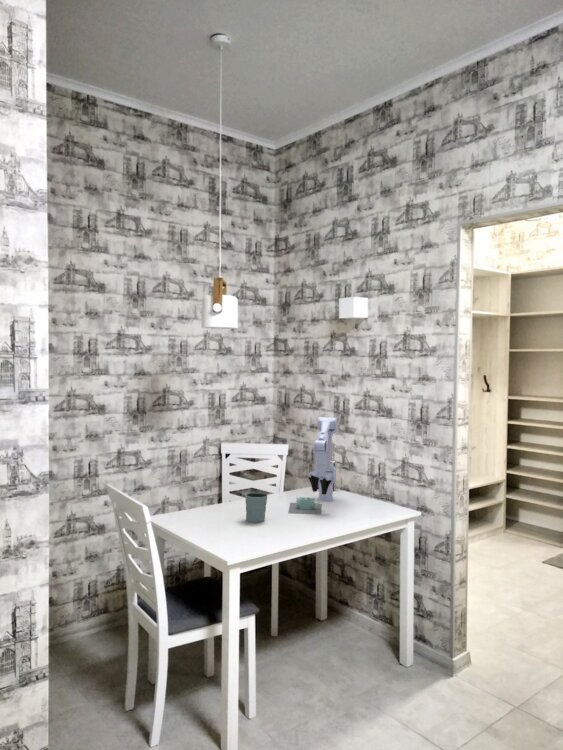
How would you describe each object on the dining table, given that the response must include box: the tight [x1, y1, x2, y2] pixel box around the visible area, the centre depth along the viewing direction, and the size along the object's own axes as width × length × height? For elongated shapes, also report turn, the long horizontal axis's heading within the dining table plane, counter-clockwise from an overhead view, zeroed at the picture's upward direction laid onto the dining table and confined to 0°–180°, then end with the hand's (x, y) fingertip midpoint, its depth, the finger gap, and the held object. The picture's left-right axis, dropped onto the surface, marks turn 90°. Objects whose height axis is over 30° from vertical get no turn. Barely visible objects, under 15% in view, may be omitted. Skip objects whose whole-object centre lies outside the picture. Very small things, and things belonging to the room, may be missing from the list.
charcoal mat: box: [287, 502, 323, 516], centre depth 287 cm, size 20×16×1 cm
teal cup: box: [245, 491, 268, 524], centre depth 266 cm, size 10×10×12 cm
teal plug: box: [295, 496, 320, 510], centre depth 287 cm, size 11×4×5 cm, turn 86°
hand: (319, 492), depth 281 cm, fingers open, 7 cm apart
